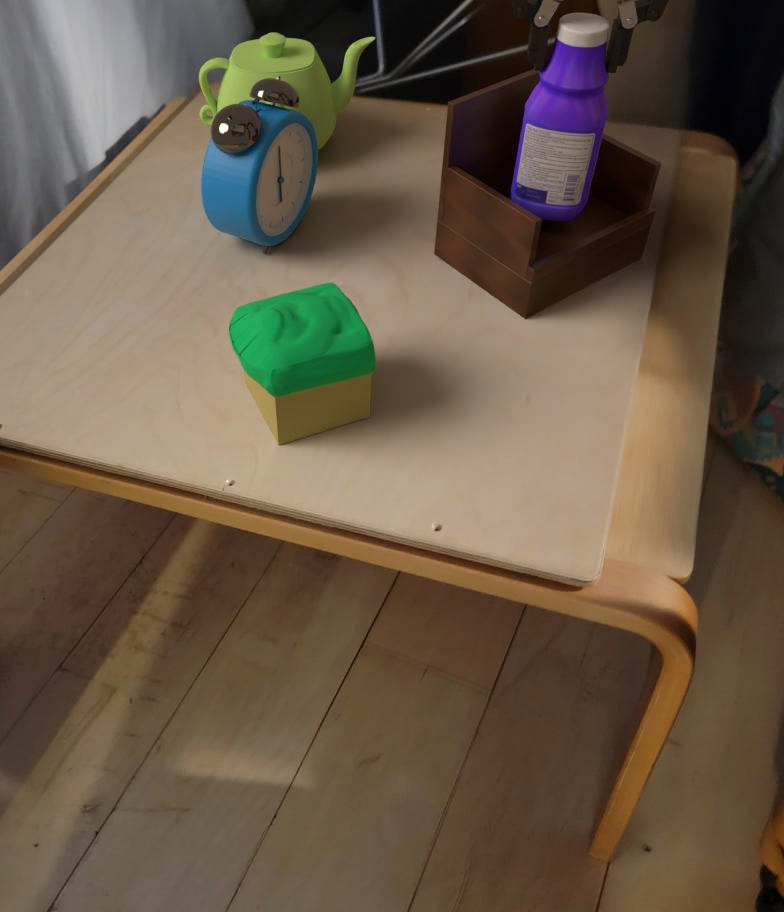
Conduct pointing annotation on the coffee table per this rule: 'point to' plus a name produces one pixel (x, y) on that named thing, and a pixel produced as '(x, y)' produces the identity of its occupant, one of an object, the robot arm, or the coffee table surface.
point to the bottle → (564, 122)
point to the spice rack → (521, 232)
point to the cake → (305, 360)
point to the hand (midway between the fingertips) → (574, 67)
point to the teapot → (285, 78)
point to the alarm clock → (260, 165)
